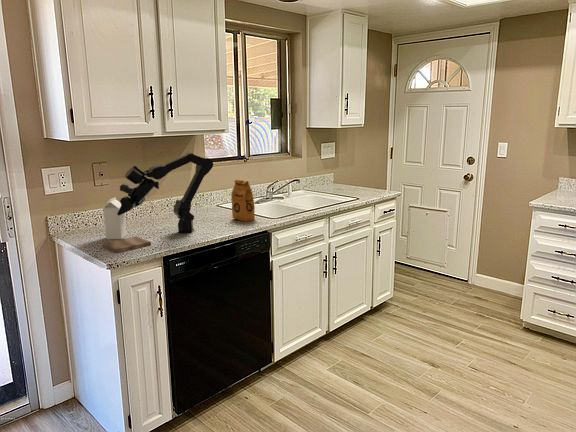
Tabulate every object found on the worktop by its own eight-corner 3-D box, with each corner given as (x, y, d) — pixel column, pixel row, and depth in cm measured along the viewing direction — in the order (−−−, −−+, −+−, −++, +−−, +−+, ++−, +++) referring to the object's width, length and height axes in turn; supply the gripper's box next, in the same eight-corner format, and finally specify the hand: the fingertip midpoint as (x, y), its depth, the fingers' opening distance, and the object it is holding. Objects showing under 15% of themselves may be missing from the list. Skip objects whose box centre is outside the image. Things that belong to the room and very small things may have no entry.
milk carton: (126, 235, 210) (122, 196, 206) (121, 239, 203) (117, 199, 199) (111, 235, 210) (107, 197, 206) (106, 239, 203) (101, 199, 199)
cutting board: (136, 239, 203) (136, 236, 203) (151, 245, 194) (150, 241, 193) (102, 246, 192) (101, 243, 192) (115, 252, 183) (115, 249, 182)
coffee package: (243, 222, 233) (241, 182, 228) (230, 219, 242) (228, 180, 237) (257, 220, 239) (256, 180, 234) (244, 216, 248) (243, 178, 243)
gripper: (136, 174, 209) (116, 197, 212) (122, 179, 191) (99, 204, 194) (154, 190, 211) (133, 213, 213) (141, 197, 193) (119, 221, 195)
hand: (121, 212), depth 204 cm, fingers open, 9 cm apart
